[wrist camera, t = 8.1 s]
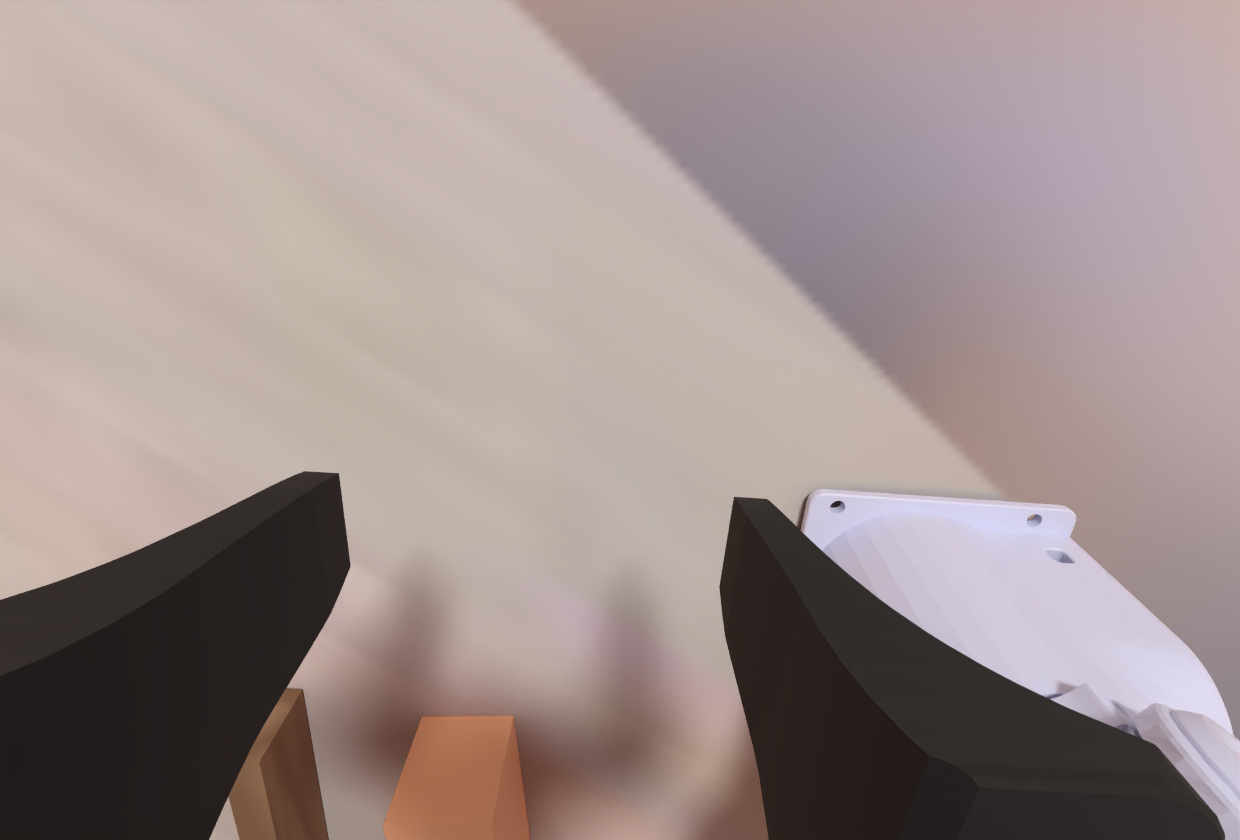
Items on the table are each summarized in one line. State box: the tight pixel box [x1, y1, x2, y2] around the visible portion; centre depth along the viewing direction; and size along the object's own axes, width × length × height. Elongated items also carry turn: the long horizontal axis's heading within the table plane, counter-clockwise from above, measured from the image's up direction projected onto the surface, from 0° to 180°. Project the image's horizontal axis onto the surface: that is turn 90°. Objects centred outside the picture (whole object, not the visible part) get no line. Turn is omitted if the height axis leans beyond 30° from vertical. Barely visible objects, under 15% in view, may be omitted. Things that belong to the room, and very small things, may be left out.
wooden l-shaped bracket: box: [229, 688, 328, 840], centre depth 29 cm, size 14×13×4 cm
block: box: [383, 716, 530, 840], centre depth 28 cm, size 8×4×5 cm, turn 2°
